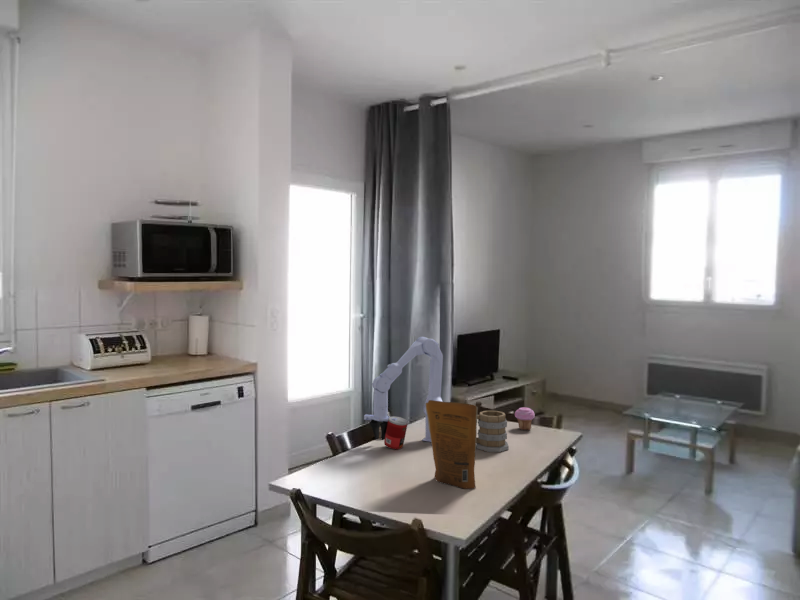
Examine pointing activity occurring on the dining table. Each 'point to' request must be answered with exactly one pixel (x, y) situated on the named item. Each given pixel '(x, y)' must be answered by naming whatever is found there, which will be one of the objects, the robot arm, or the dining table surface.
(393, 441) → the canned food
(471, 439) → the pancake mix bag
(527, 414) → the cupcake
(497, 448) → the tankard
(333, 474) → the dining table surface
